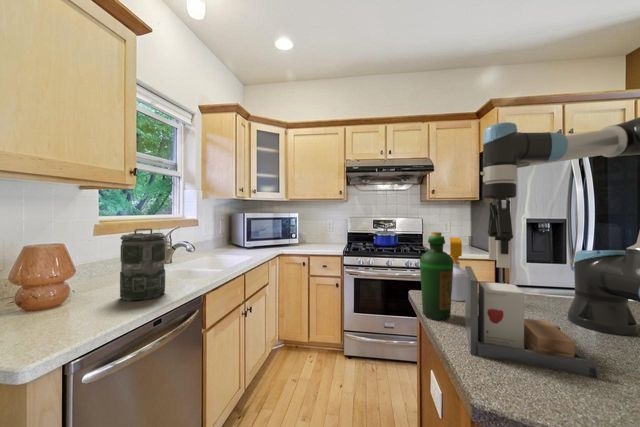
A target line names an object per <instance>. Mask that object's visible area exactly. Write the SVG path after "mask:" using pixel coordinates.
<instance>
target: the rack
mask: <svg viewBox="0 0 640 427" xmlns="http://www.w3.org/2000/svg"><path fill="white" fill-rule="evenodd" d="M464 271H465V301H464V316H465V317H464V324H465V331H466V335H467V341H468V348H469V353H470V355H471V356H475V357H482V358H487V359H492V360H498V361H502V362H508V363H512V364H513V363H514V364H519V365H523V366H524V365H525V366H529V367H530V366H531V367H536V368H540V369H541V368H542V369H545V370H546V369H547V370H552V371H558V372H562V373H568V374H574V375H579V376H585V377H590V378H595V379H597V378H598V371H597V367H598V366H597V365H598V364H597V362H596V361H595V360H591V359H588V358H587V357H586V356H585V355H584V354H583V353H582V352H581V351H580V350H579V349H578V348H577V347H576V346H575V355H574V357H569V356H563V355H557V354H550V353H544V352H538V351H532V350H529V349H525V348H524V349H520V348H514V347H508V346H502V345H496V344H490V343H484V342H482V341H479V334H478V290H479V284H478V282H479V281H478V279H477V277H476V274H475V272H474V270H473V269H472V266H471V265H465V266H464ZM555 326H556V325H555ZM556 327H557V328H558V329H559V330H561V327H560V326H559V325H557V326H556ZM561 331H562V330H561Z"/></svg>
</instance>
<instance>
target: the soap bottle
mask: <svg viewBox="0 0 640 427" xmlns="http://www.w3.org/2000/svg"><path fill="white" fill-rule="evenodd" d="M449 243H450V245H449V247H450V249H449V253H448V254H449V255H450V256H451V257H452V259H453V260H454V263H453V280H452V297H451V302H452V301H453V302H465V269H463V268H461V265H460V263H461V262H460V261H458V259H459V257H462V254H463V253H462V252H463V251H462V249H463V247H462V246H463V245H462V239H461V237H449Z"/></svg>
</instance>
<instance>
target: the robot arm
mask: <svg viewBox="0 0 640 427" xmlns="http://www.w3.org/2000/svg"><path fill="white" fill-rule="evenodd" d="M517 127H518V126H517V124H516V123H514V122H499V123H494V124H491V125H489V126H487V127H486V128H485V129H484V131H483V136H482V137H483V139H482V170H483V171H480V175H481V176H483V177H482V182H483V183H484V184H483V185H482V198H483V199H487V200H489V199H492V201H491V202H489V206H488V210H489V215H488V216H489V217H488V226H487V227H488V229H487V230H488V231H487V234H488V260H493V261H496V268H501V269H502V268H505V269H511V245H512V243H511V240H512V239H513V238H514V234H513V225H512V216H511V201H510V200H509V199H514V198H516V197H517V184H516V183H515V182H516V181H517V180H518V178H517V177H518V176H517V174H518V172H517V171H518V170H517V169H519V168H525V167H530V166H531V167H533V166H538V165H544V164H545V165H546V164H552V163H557V162H558V163H560V162H565V161H571V160H578V159H584V158H585V159H586V158H591V157H597V156H602V157H604V158H605V157H606V158H615V157H622V156H636V155H637V156H638V155H640V116H639V117H636V118H633V119H630V120H627V121H625V122H621V123H617V124H613V125H612V124H611V125H607V126H605V127H603V128H602V129H601V130H596V131H589V132H583V133H577V134H569V135H565V134H564V133H560V132H551V131H547V132H543V131H542V132H522V131H521V132H520V131H518V128H517ZM573 266H574V267H573V270H574V297H573V299H572V302H571V303H570V306H569V308H568V310H567V320H568V321H569V322H570V323H572V324H575V325H577V326H580V327H582V328H585V329H589V330H593V331H597V332H600V333H606V334H607V333H608V334H614V335H621V336H622V335H623V336H625V335H626V336H627V335H628V336H630V335H631V336H632V335H637V334H638V332H639V326H638V322H637V321H636V318H635V315H634V313H633V311H632V309H631V307H630V303H629V301H630V300H631V301H634V302H637V303H640V230H639V232H638V236H637V240H636V243H634V244H633V245H631V246H629V247H626V250H609V249H608V250H607V249H606V250H596V249H595V250H592V249H591V250H578V251H576V253H575V255H574V262H573Z"/></svg>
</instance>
